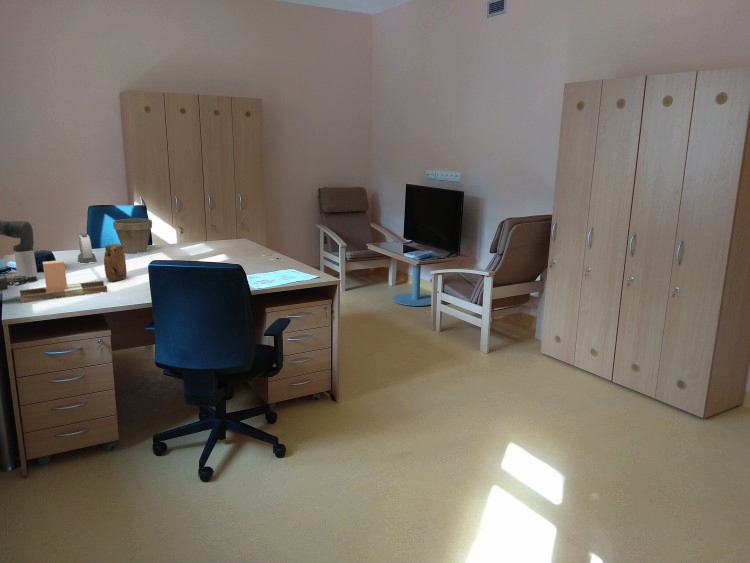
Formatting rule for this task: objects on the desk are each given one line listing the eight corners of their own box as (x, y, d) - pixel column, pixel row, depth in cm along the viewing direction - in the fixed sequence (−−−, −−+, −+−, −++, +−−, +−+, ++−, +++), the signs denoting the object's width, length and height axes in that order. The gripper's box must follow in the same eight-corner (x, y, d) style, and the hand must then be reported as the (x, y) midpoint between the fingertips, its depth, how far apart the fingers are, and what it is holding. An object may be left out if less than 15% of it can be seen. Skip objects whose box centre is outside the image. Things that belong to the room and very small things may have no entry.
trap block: (46, 288, 281) (42, 261, 278) (66, 286, 286) (63, 259, 282) (47, 291, 276) (43, 264, 273) (67, 289, 281) (63, 262, 277)
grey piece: (98, 263, 352) (94, 234, 347) (80, 265, 346) (76, 236, 342) (94, 258, 365) (90, 231, 360) (76, 260, 359) (72, 232, 355)
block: (117, 276, 318) (114, 242, 313) (128, 277, 316) (125, 243, 311) (104, 281, 308) (99, 246, 303) (115, 282, 306) (111, 246, 301)
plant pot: (162, 249, 397) (159, 218, 392) (140, 255, 374) (137, 224, 369) (131, 247, 403) (128, 217, 397) (108, 254, 380) (104, 222, 374)
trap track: (20, 296, 279) (19, 290, 278) (103, 285, 299) (103, 280, 298) (21, 302, 268) (20, 296, 267) (107, 291, 287) (106, 286, 287)
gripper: (-7, 278, 260) (36, 274, 269) (-6, 272, 271) (35, 268, 280) (-5, 293, 262) (38, 288, 271) (-4, 287, 273) (37, 283, 282)
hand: (36, 278), depth 275 cm, fingers closed
